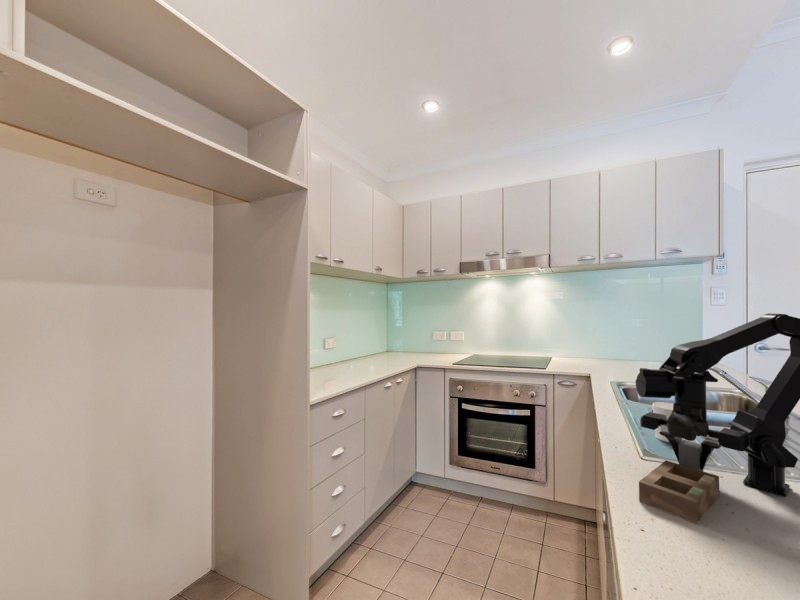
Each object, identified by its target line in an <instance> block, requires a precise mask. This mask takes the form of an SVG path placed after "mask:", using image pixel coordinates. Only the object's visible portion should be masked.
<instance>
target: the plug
mask: <svg viewBox="0 0 800 600" xmlns="http://www.w3.org/2000/svg"><path fill="white" fill-rule="evenodd" d="M701 450H702V447H701V443H697V442H693V441H688V440H685V439H684V440H683V441H682V442H680V443H679V462H678V464H680V465H683V466H686V467H690V468H693V469H697V470H700V459H701ZM700 471H703V472H704V469H703V470H700Z"/></svg>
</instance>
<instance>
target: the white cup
mask: <svg viewBox="0 0 800 600" xmlns="http://www.w3.org/2000/svg"><path fill="white" fill-rule="evenodd" d="M673 406H674V403H673V402H672V403H671V402H663V401H662V402H661V401H658V402H657V401H656V402H653V403H652V413H657V414H662V415H666V417H667V420H668V418H669V416H670V415H671V413H672V411H673ZM660 431H661V426H659V427H658V428H657V429H655V430H654V435H655V438H656V439H658V440H659V441H662V442H666V443H669V444H670V442H669V440H668V439H667V438H666V437H665V436H663V435H660V433H659V432H660ZM683 440H685V439H683V438H682V441H683Z"/></svg>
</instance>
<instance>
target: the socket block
mask: <svg viewBox="0 0 800 600" xmlns="http://www.w3.org/2000/svg"><path fill="white" fill-rule="evenodd" d="M719 497H720V475H716V474H713V473H710V472H707V471H704V470H703V471H700V470H697V469H693V468H690V467H686V466H683V465H680V464H679V463H676V462H672V461H669V460H664V461H663V462H662V463H661V464H659V465H658V466H657V467H656V468H654V469H653V470H652V471H650V472H649V473H648V474H647V475H646V476H644V477H643V478H642V479H640V480H639V481H638V501H639V502H641V503H644V504H646V505H648V506H651V507H654V508H656V509H659V510H661V511H663V512H667V513H669V514H671V515H673V516H677V517H679V518H681V519H684V520H686V521H689V522H691V523H693V524H697V525H698V524H699V522H700V521H701V520H702V519H703V518H704V516H705V515H706V514H707V512H708V511H709V509H710V508H711V507H712V505H713V504H714V503H715V502H716V500H717V499H718V498H719Z"/></svg>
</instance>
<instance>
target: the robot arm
mask: <svg viewBox="0 0 800 600" xmlns="http://www.w3.org/2000/svg"><path fill="white" fill-rule="evenodd" d="M776 335H781V336H782V335H783V336H784V337H787V338H790V339H789V350H790V353H789V356H788V357H787V359H786V361H785V363H784V364H783V365H782V367H781V368H780V370H779V371H778V373H777V374H776V376H775V378H774V379H773V381H772V383H771V384H770V385H769V387H768V388H767V390H766V391H765V392H764V394H763V395H762V398H761V399H760V401H759V402H758V403H757V405H756V407H754V408H753V409H751V410H749V411H747V412H746V411H744V410H741V409H738V410H737V412H736V414H735V417H734V418H733V420H731V421H730V422H729V423H728V424H729V425H730V428H727V427H723V428H722V429H721V430H720V431H719V430H715V429H710V426H709V425H710V424H709V423H708V420H707V419H708V418H707V417H708V416H707V409H708V404H707V383H718V382H719V380H718V378H716V377H715V376H713V374H712V373H710V371H709V369H711V368H713V367H714V366H716V365H718V364H719V362H720V361H721V360H722V359H723V358H724V357H726V356H727V355H730V354H732V353H734V352H737V351H739V350H742V349H744V348H746V347H749V346H752V345H754V344H758V343H759V342H762V341H765V340H767V339H769V338H772V337H774V336H776ZM635 387H636V388H635V389H636V392H637V394H638V396H639V397H641V398H649V399H650V398H651V399H652V398H653V399H671V398H672V397H674V403H673V404H674V406H673V411H672V413H671V415H670V416H669V418H668V420H667V417H666V415H662V414H657V413H653V411H652V412H651V411H649V412H647V413H645V414H644V415H642V416H640V419H639V421H640V422H639V423H640V424H639V425H640V427H641V428H643V429H649V430H653V431H655V429H657V428H658V427H659V426H661V431H660V432H659V433H660V435H663V436H665V437H666V438H667V439H668V440H669V442H670V443H669V442H668V443H669V444H670V446H671V448H672V450H673V453H674V455H675V457H676V460H677V462H678V463H679V443H680V442H682V438H683V439H684V440H686V441H690V442H693V441H695V440H696V438H697V437H703V439H704V440H703V441H702V442H700V444H701V447H702V450H701V459H700V470H703V471H704V470H705V467H706V465H707V463H708V461H709V459H710V457H711V455H712V453H713V451H714V450H715V449H716V450H719V449H721V448H726V449H730V450H734V451H738V452H745V453H747V475H746V476H745V478H744V479H743V481H742V483H743V484H744V485H746V486H749V487H753V488H756V489H759V490H763V491H766V492H769V493H773V494H776V495H779V496H783V497H786V496H787V495H788V492H789V490H790V487H791V485H790V484H789V483H786V471H785V470H786V469H787V468H791V469H793V468H795V467H796V465H797V463H798V461H799V460H798V457H797V456H795V454H793V453H792V452H791V451H789V449H788V448H786V447H785V446H784V443H785V440H786V438H787V433H786V432H787V431H786V420H787V419H788V417H789V416H790V414H792V411H793V410H794V409H795V407H796V406H797V404H798V402H799V401H800V318H799V317H795V316H792V315H789V314H786V313H765V314H763V315H761V316H760V317H758V318H755V319H754V320H751V321H749V322H746V323H744V324H741V325H739V326H737V327H734V328H732V329H730V330H727V331H725V332H722V333H719V334H717V335H715V336H713V337H710V338H706V339H701V340H700V339H699V340H693V341H690V342H689V341H688V342H685V343H682V344H678V345H675V346H674V347H672V349H671V350H670V354H669V356H668V358H667V359H666V360H665V361H664V362H663V363H662V365H661V366H660V367H659V368H658V369H651V368H646V367H640V368H639V373H638V374H637V377H636V379H635Z"/></svg>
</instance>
